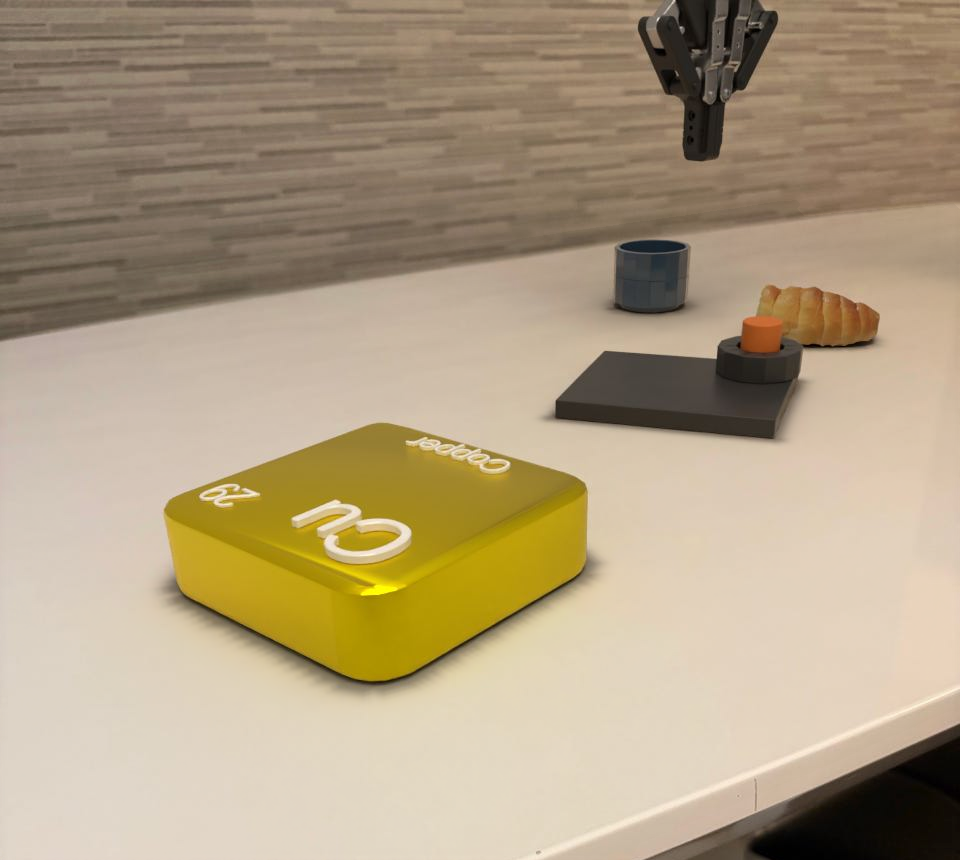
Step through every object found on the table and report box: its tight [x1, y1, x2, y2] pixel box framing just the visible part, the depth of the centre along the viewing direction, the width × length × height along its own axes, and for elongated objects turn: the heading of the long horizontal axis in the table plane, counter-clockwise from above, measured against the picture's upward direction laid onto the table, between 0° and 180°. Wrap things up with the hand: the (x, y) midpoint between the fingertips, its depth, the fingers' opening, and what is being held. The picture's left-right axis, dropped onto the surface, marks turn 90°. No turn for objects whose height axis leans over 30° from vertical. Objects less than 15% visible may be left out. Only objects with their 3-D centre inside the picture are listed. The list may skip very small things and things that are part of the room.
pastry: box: [755, 284, 881, 348], centre depth 84 cm, size 9×7×4 cm
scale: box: [554, 335, 804, 439], centre depth 72 cm, size 14×12×3 cm
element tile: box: [162, 422, 589, 682], centre depth 50 cm, size 15×15×5 cm
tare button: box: [740, 315, 783, 353], centre depth 73 cm, size 3×3×2 cm
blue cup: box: [612, 238, 692, 314], centre depth 94 cm, size 6×6×5 cm
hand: (700, 159), depth 80 cm, fingers closed
